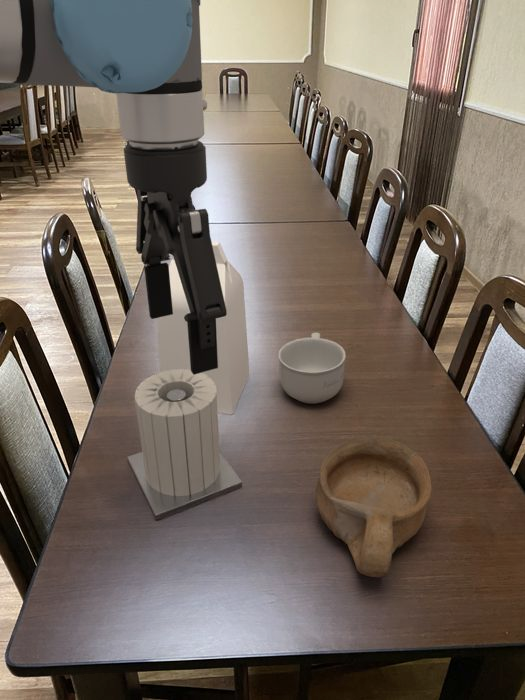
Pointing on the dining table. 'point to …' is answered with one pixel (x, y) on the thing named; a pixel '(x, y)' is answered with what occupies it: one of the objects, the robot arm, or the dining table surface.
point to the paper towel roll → (179, 432)
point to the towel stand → (173, 504)
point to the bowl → (373, 498)
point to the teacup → (312, 368)
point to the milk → (228, 331)
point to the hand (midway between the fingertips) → (181, 340)
